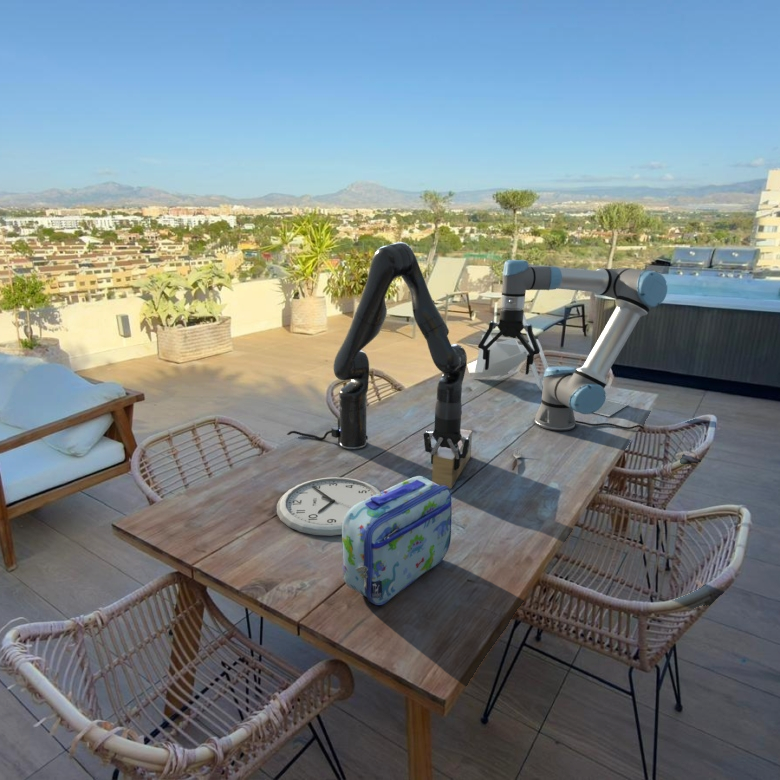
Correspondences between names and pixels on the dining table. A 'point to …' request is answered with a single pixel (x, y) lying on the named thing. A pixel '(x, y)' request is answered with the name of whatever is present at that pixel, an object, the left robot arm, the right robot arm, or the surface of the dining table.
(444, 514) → the lunch box
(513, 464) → the fork
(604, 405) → the invitation card
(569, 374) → the right robot arm
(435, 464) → the bar
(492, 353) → the white plastic object
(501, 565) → the dining table surface
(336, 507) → the wall clock
